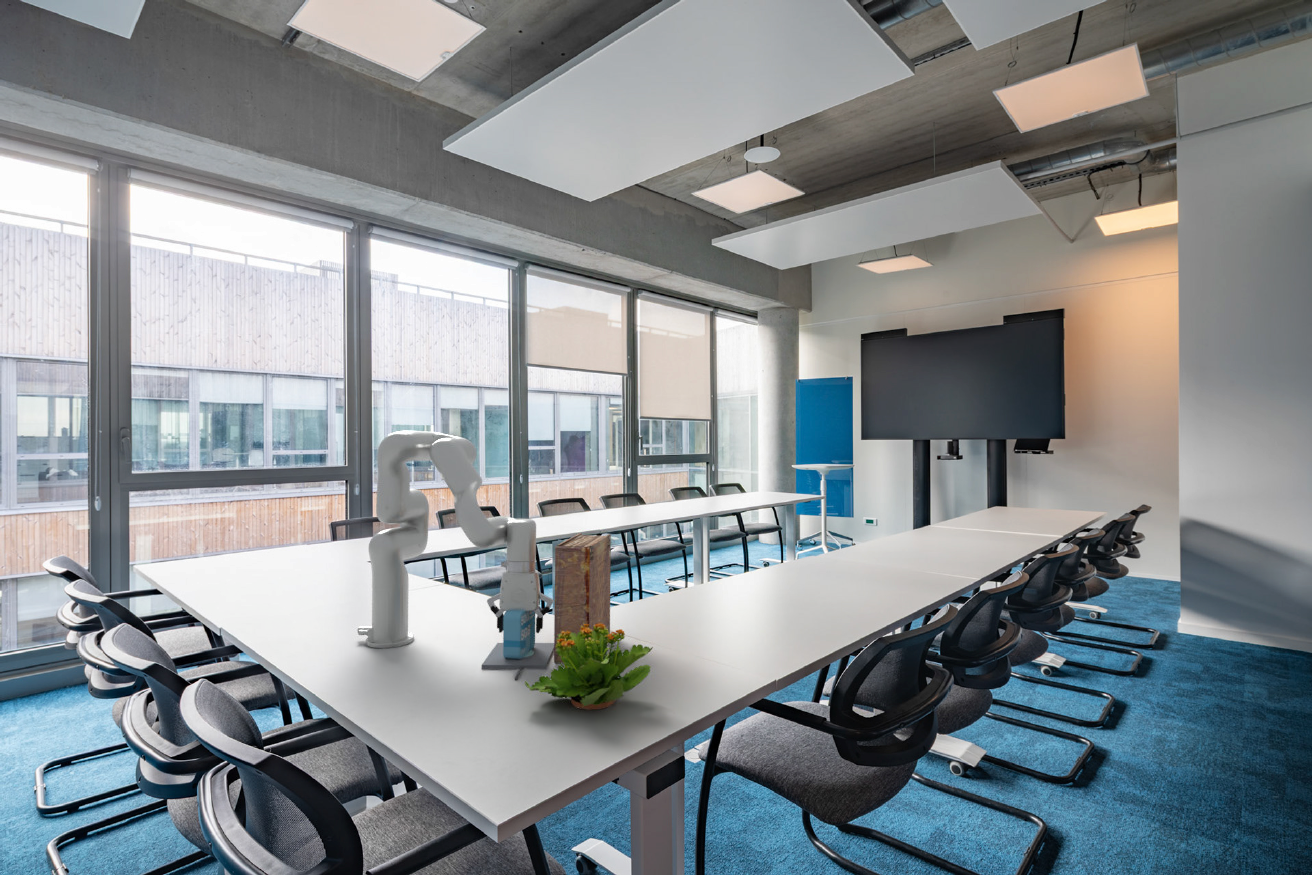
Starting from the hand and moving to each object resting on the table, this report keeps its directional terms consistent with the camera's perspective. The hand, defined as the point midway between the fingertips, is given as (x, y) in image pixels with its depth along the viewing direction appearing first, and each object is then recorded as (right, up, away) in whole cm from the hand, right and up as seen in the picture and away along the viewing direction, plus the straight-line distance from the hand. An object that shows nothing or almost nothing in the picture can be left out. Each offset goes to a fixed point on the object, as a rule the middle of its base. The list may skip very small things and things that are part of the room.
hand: (519, 631), depth 173 cm
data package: (0, -6, 0) cm, 6 cm away
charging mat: (0, -7, -4) cm, 8 cm away
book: (+16, -7, +7) cm, 19 cm away
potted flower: (+23, -7, -29) cm, 37 cm away
